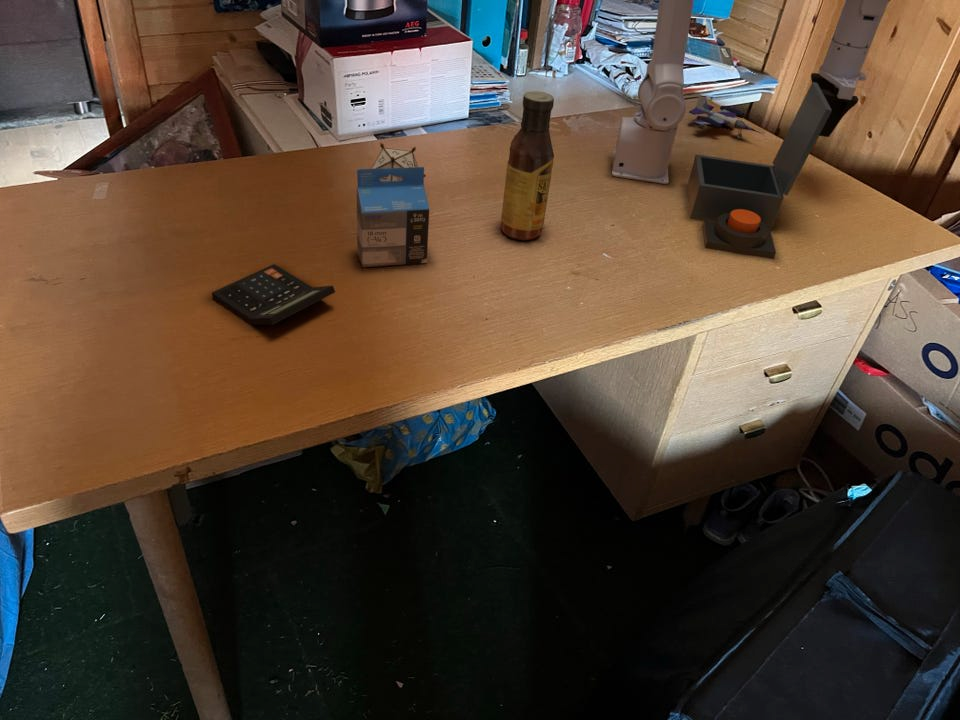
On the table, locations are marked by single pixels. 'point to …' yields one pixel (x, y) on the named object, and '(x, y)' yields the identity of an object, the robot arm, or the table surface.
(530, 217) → the sauce bottle
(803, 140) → the lid
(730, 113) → the toy airplane
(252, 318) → the calculator
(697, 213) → the cooker
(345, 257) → the table surface
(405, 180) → the tape cartridge
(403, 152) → the game die
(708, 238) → the switch block
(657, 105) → the robot arm
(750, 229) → the button
